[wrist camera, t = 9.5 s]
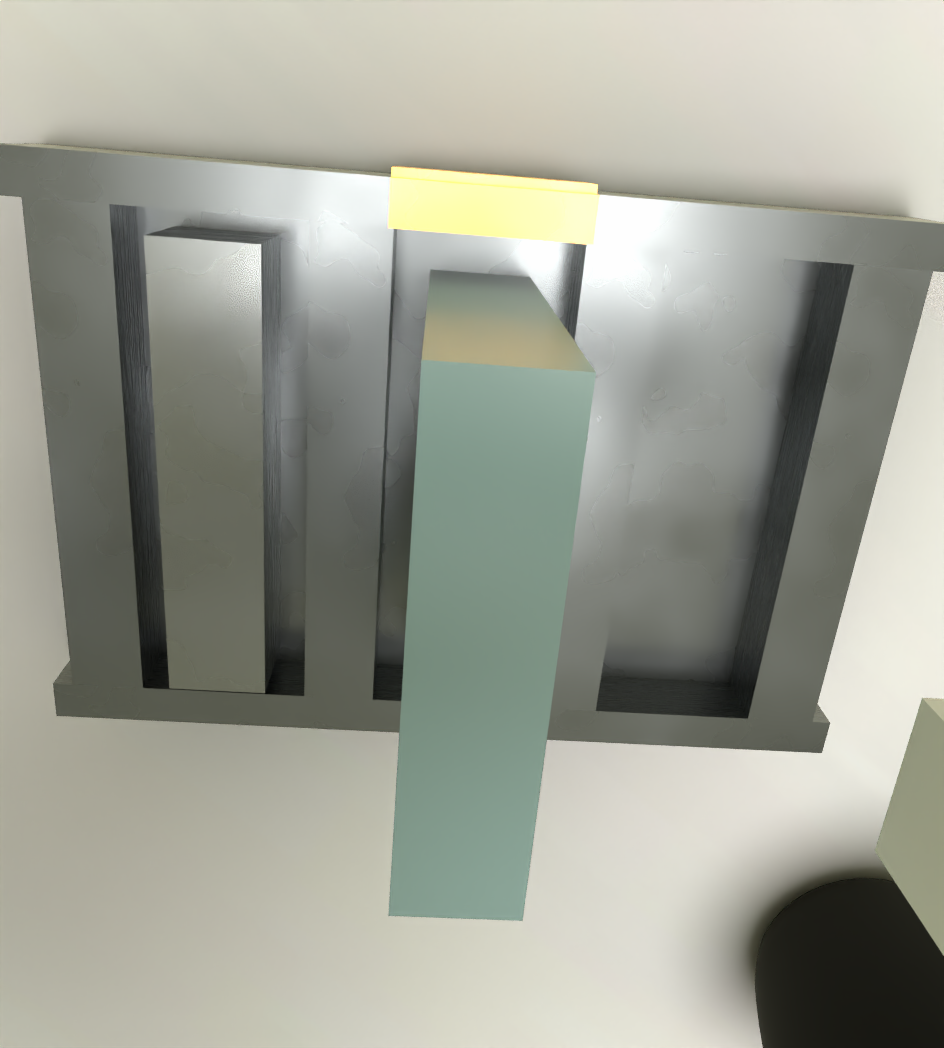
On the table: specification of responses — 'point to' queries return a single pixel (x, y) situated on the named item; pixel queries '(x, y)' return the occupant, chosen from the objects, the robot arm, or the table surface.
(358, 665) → the rack
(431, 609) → the block
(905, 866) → the robot arm
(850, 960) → the mug
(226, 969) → the table surface
